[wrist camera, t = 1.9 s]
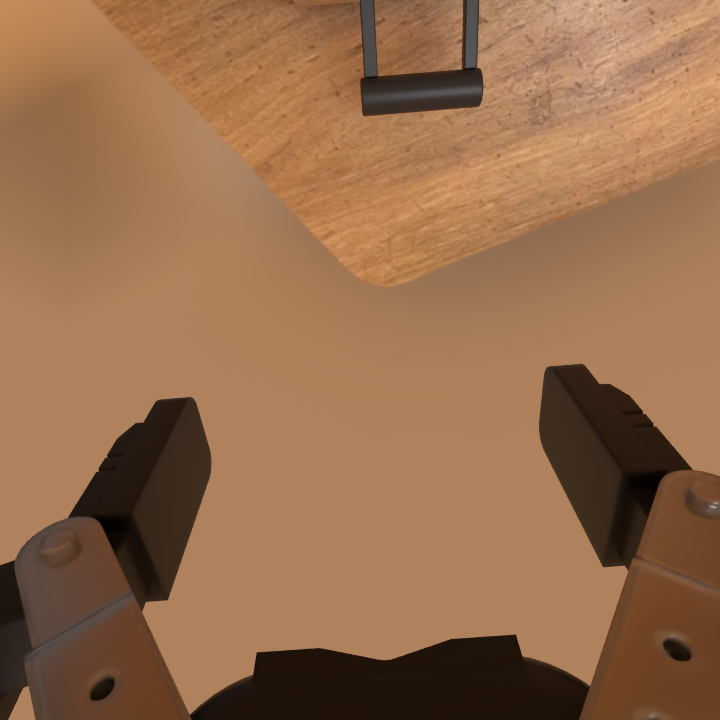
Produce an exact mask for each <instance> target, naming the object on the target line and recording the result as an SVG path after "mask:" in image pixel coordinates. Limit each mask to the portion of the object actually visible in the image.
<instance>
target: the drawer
mask: <svg viewBox="0 0 720 720" xmlns="http://www.w3.org/2000/svg"><path fill="white" fill-rule="evenodd" d="M293 2H294V3H295V4H296V5H297V6H298V7H304V6H315V5H327V4H338V3H350V2H360V14H361V30H362V47H363V63H364V77H365V78H361V79H360V86H361V102H362V114H363V116H373V115H385V114H397V113H409V112H422V111H434V110H446V109H458V108H470V107H478V106H480V104H481V101H482V96H483V75H482V71H481V69H480V68H477V54H478V23H479V0H463V39H462V69H461V70H449V71H437V72H425V73H414V74H402V75H390V76H378V70H377V50H376V30H375V10H374V0H293ZM377 76H378V77H377Z"/></svg>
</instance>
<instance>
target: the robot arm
mask: <svg viewBox="0 0 720 720" xmlns="http://www.w3.org/2000/svg"><path fill="white" fill-rule="evenodd" d="M539 433H540V439H541V443H542V446H543V449H544V451H545V453H546V455H547V457H548V459H549V461H550V463H551V465H552V467H553V469H554V471H555V473H556V475H557V477H558V479H559V481H560V483H561V485H562V487H563V489H564V491H565V493H566V495H567V497H568V499H569V501H570V503H571V505H572V507H573V509H574V511H575V512H576V514H577V516H578V518H579V520H580V522H581V524H582V526H583V528H584V530H585V532H586V534H587V536H588V538H589V540H590V542H591V544H592V546H593V548H594V550H595V552H596V554H597V556H598V558H599V560H600V562H601V564H602V566H603V567H612V566H626V568H627V570H628V574H627V577H626V580H625V583H624V586H623V589H622V592H621V595H620V599H619V602H618V604H617V607H616V610H615V613H614V616H613V619H612V622H611V626H610V628H609V631H608V634H607V637H606V641H605V644H604V647H603V649H602V652H601V655H600V659H599V662H598V664H597V667H596V671H595V674H594V677H593V680H592V683H591V686H589V685H588V684H586V683H585V682H583V681H582V680H580V679H578V678H577V677H575V676H573V675H571V674H570V673H568V672H566V671H564V670H562V669H560V668H557V667H555V666H553V665H550V664H548V663H545V662H541V661H538V660H535V659H532V658H527V657H523V656H522V654H521V651H520V647H519V644H518V641H517V637H516V635H505V636H504V635H503V636H489V637H475V638H462V639H461V638H460V639H450V640H447V641H445V642H442V643H439V644H436V645H433V646H430V647H427V648H424V649H421V650H418V651H415V652H412V653H409V654H406V655H404V656H401V657H398V658H395V659H391V660H377V659H372V658H367V657H362V656H357V655H352V654H347V653H342V652H337V651H332V650H327V649H322V648H314V649H301V650H286V651H271V652H258V653H257V655H256V661H255V667H254V673H253V675H252V676H249V677H246V678H244V679H241V680H239V681H237V682H235V683H233V684H231V685H229V686H227V687H226V688H224V689H222V690H221V691H219V692H218V693H216V694H214V695H213V696H212V697H211V698H209V699H208V700H207V701H205V702H204V703H203V704H201V705H200V706H199V707H198V708H197V709H196V710H195V711H194V712H193V713H191V714H190V715H189V712H188V710H187V708H186V706H185V704H184V702H183V700H182V697H181V695H180V693H179V691H178V689H177V687H176V685H175V682H174V680H173V678H172V676H171V674H170V672H169V669H168V667H167V665H166V663H165V661H164V659H163V656H162V654H161V652H160V650H159V648H158V646H157V644H156V641H155V639H154V637H153V635H152V633H151V631H150V628H149V626H148V624H147V622H146V620H145V618H144V616H143V613H142V610H143V608H144V605H145V603H146V602H150V601H163V600H168V598H169V595H170V592H171V589H172V586H173V583H174V580H175V577H176V574H177V572H178V569H179V566H180V563H181V560H182V557H183V554H184V551H185V548H186V545H187V542H188V539H189V536H190V533H191V531H192V528H193V525H194V522H195V519H196V516H197V513H198V510H199V507H200V504H201V501H202V498H203V495H204V492H205V490H206V487H207V484H208V481H209V478H210V473H211V454H210V449H209V445H208V442H207V438H206V435H205V432H204V428H203V425H202V421H201V418H200V414H199V411H198V407H197V404H196V402H195V400H194V399H193V398H191V397H186V398H174V399H162V400H158V401H156V402H155V404H154V405H153V407H152V409H151V411H150V412H149V414H148V416H147V418H146V419H145V421H144V423H135V424H134V425H133V426H132V427H131V428H129V429H128V430H127V431H126V432H125V433H123V434H122V435H121V436H120V437H119V438H117V440H116V442H115V443H114V445H113V447H112V448H111V450H110V451H109V453H108V454H107V456H108V457H107V458H105V459H104V461H103V462H102V464H101V466H100V467H99V472H96V474H95V475H94V477H93V478H92V480H91V482H90V483H89V485H88V487H87V488H86V490H85V491H84V493H83V494H82V496H81V497H80V499H79V501H78V502H77V504H76V505H75V507H74V509H73V510H72V512H71V514H70V515H69V517H68V518H67V519H64V520H61V521H58V522H56V523H54V524H51V525H50V526H48V527H46V528H44V529H43V530H41V531H40V532H38V533H37V534H35V535H34V536H33V537H32V538H31V539H30V540H29V541H28V542H26V544H25V545H24V546H23V547H22V548H21V550H20V552H19V553H18V555H17V558H16V559H15V560H14V561H11V562H9V563H6V564H3V565H0V720H8V719H9V717H10V715H11V712H12V710H13V708H14V706H15V704H16V702H17V700H18V698H19V695H20V693H21V691H22V689H23V688H24V687H26V686H29V690H30V694H31V699H32V705H33V709H34V714H35V719H36V720H720V476H717V475H714V474H711V473H707V472H702V471H695V470H692V468H691V467H690V466H689V465H688V464H687V463H686V461H685V460H684V459H683V458H682V456H681V455H680V454H679V453H678V452H677V451H676V449H675V448H674V447H673V446H672V445H671V444H670V442H669V441H668V440H667V439H666V438H665V437H664V435H663V434H662V433H661V432H660V431H659V430H658V428H657V427H654V426H653V422H652V421H651V420H650V419H649V418H648V417H647V415H646V414H643V411H642V410H641V408H639V406H638V405H637V404H636V403H635V401H634V400H633V399H632V398H631V397H630V396H629V395H627V394H625V393H624V392H622V391H621V390H619V389H617V388H615V387H614V386H612V385H611V384H599V383H598V382H597V380H596V379H595V378H594V377H593V375H592V374H591V373H590V371H589V370H588V369H587V368H586V367H585V365H583V364H574V365H562V366H551V367H547V368H546V370H545V373H544V380H543V391H542V400H541V409H540V419H539Z"/></svg>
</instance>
